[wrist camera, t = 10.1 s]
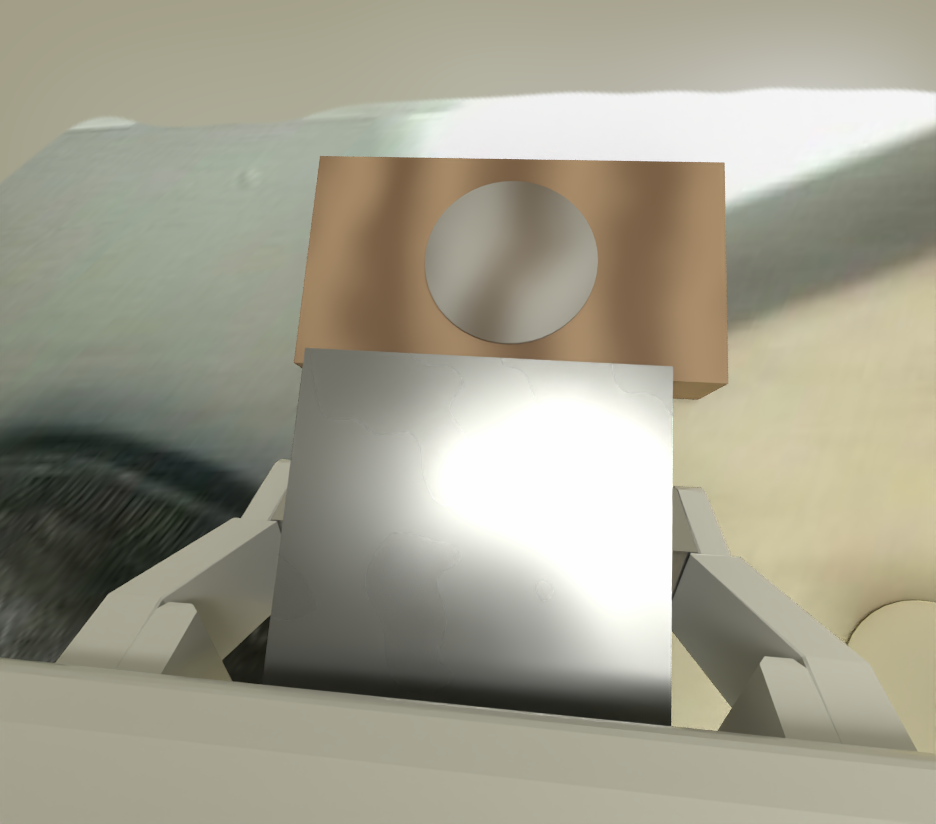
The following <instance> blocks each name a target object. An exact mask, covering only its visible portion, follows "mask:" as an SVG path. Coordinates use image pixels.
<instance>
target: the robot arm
mask: <svg viewBox="0 0 936 824" xmlns="http://www.w3.org/2000/svg"><path fill="white" fill-rule="evenodd" d="M290 461H291V460H287V459H280V460H279V461H277V462H276V463H275V464H274V465H273V467H272V469H271V470H270V472H269V473H268V475H267V477H266V478H265V480H264V482H263V483H262V485H261V486H260V488H259V490H258V491H257V493H256V495H255V496H254V498H253V499H252V501H251V503H250V504H249V506H248V508H247V509H246V511H245V512H244V514H243V516H242V517H241V518H232V519H231V520H229V521H227V522H226V523H224V524H222V525H221V526H219V527H218V528H216V529H214V530H213V531H211V532H209V533H208V534H206V535H204V536H203V537H201V538H199V539H198V540H196V541H195V542H193V543H191V544H190V545H188V546H186V547H185V548H183V549H181V550H180V551H178V552H176V553H175V554H173V555H172V556H170V557H168V558H167V559H165V560H163V561H162V562H160V563H158V564H157V565H155V566H153V567H152V568H150V569H149V570H147V571H145V572H144V573H142V574H140V575H139V576H137V577H135V578H134V579H132V580H130V581H129V582H127V583H126V584H124V585H122V586H121V587H119V588H117V589H116V590H114V591H112V592H111V593H109V594H108V595H107V597H106V598H105V599H104V600H103V602H102V603H101V604H100V606H99V607H98V608H97V609H96V611H95V612H94V613H93V615H92V616H91V617H90V619H89V620H88V621H87V622H86V624H85V625H84V626H83V628H82V629H81V630H80V631H79V633H78V634H77V635H76V637H75V638H74V639H73V641H72V642H71V643H70V644H69V646H68V647H67V648H66V650H65V651H64V652H63V653H62V655H61V656H60V657H59V659H58V660H57V661H56V663H48V662H38V661H28V660H19V659H9V658H0V824H936V753H927V752H918V751H917V749H916V747H915V746H914V744H913V742H912V740H911V738H910V736H909V735H908V733H907V731H906V729H905V727H904V726H903V724H902V722H901V720H900V718H899V716H898V715H897V713H896V711H895V709H894V707H893V706H892V704H891V702H890V700H889V698H888V696H887V695H886V693H885V691H884V689H883V687H882V686H881V684H880V682H879V680H878V678H877V676H876V675H875V673H874V671H873V669H872V667H871V666H870V664H869V663H868V662H867V661H865V660H864V659H863V658H862V657H861V656H859V655H858V654H857V653H856V652H855V651H853V650H852V649H851V648H850V647H848V646H847V645H846V644H845V643H844V642H842V641H841V640H840V639H839V638H838V637H836V636H835V635H834V634H833V633H832V632H830V631H829V630H828V629H827V628H826V627H824V626H823V625H822V624H821V623H820V622H818V621H817V620H816V619H815V618H813V617H812V616H811V615H810V614H809V613H807V612H806V611H805V610H804V609H803V608H801V607H800V606H799V605H798V604H797V603H795V602H794V601H793V600H792V599H791V598H789V597H788V596H787V595H786V594H784V593H783V592H782V591H781V590H780V589H778V588H777V587H776V586H775V585H774V584H772V583H771V582H770V581H769V580H768V579H766V578H765V577H764V576H763V575H762V574H760V573H759V572H758V571H757V570H756V569H754V568H753V567H752V566H751V565H749V564H748V563H747V562H746V561H745V560H743V559H742V558H741V557H734V556H732V555H731V553H730V550H729V548H728V545H727V543H726V540H725V538H724V536H723V533H722V531H721V528H720V526H719V523H718V521H717V518H716V516H715V513H714V511H713V509H712V506H711V504H710V501H709V499H708V496H707V494H706V491H705V490H703V489H702V488H700V487H681V486H674V487H672V632H673V633H674V634H675V636H676V637H677V638H678V639H679V641H680V642H681V643H682V644H683V646H684V647H685V648H686V650H687V651H688V652H689V653H690V655H691V656H692V657H693V659H694V660H695V661H696V662H697V664H698V665H699V666H700V668H701V669H702V670H703V671H704V673H705V674H706V675H707V677H708V678H709V679H710V680H711V682H712V683H713V684H714V685H715V687H716V688H717V689H718V691H719V692H720V693H721V694H722V696H723V697H724V698H725V700H726V701H727V702H728V703H729V705H730V706H731V707H732V709H731V710H730V712H729V713H728V715H727V717H726V718H725V720H724V721H723V723H722V725H721V726H720V728H719V729H718V731H712V730H702V729H692V728H682V727H673V726H663V725H653V724H643V723H634V722H624V721H614V720H604V719H595V718H585V717H575V716H565V715H556V714H546V713H536V712H526V711H516V710H507V709H497V708H487V707H477V706H467V705H458V704H448V703H438V702H428V701H418V700H408V699H398V698H389V697H379V696H369V695H359V694H349V693H339V692H330V691H320V690H310V689H300V688H291V687H281V686H271V685H261V684H252V683H242V682H232V680H231V678H230V676H229V674H228V672H227V670H226V668H225V666H224V664H223V662H222V660H223V659H224V658H225V657H226V656H227V655H228V654H229V653H230V652H231V651H232V650H234V649H235V648H236V647H237V646H238V645H239V644H240V643H241V642H242V641H243V640H244V639H245V638H246V637H247V636H248V635H249V634H251V633H252V632H253V631H254V630H255V629H256V628H257V627H258V626H259V625H260V624H261V623H262V622H263V621H264V620H265V619H267V618H268V617H269V616H270V615H271V609H272V602H273V594H274V586H275V578H276V570H277V563H278V555H279V547H280V539H281V531H282V524H283V516H284V508H285V500H286V493H287V485H288V477H289V469H290Z"/></svg>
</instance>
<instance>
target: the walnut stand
mask: <svg viewBox="0 0 936 824" xmlns="http://www.w3.org/2000/svg"><path fill="white" fill-rule="evenodd" d="M305 348H320V349H339V350H359V351H378V352H398V353H418V354H437V355H457V356H476V357H496V358H516V359H535V360H555V361H575V362H594V363H614V364H633V365H653V366H673V398H680V399H700V398H702V397H704V396H706V395H708V394H709V393H711V392H713V391H715V390H717V389H719V388H721V387H723V386H725V385H727V384H728V342H727V284H726V225H725V166H724V163H713V162H651V161H588V160H526V159H463V158H401V157H338V156H320V161H319V169H318V177H317V185H316V193H315V200H314V208H313V216H312V224H311V232H310V240H309V248H308V256H307V264H306V272H305V280H304V287H303V295H302V303H301V311H300V319H299V327H298V335H297V343H296V351H295V359H294V363H295V364H297V365H298V366H300V367H301V368H303V360H304V352H305Z"/></svg>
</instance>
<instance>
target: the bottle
mask: <svg viewBox="0 0 936 824" xmlns="http://www.w3.org/2000/svg"><path fill="white" fill-rule="evenodd" d="M848 647H850V648H851V649H852V650H853V651H855V652H856V653H857V654H858V655H859V656H861V657H862V658H863V659H864V660H865V661H867V662H868V663H869V664H870V666H871V667H872V669H873V671H874V673H875V675H876V676H877V678H878V680H879V682H880V684H881V686H882V687H883V689H884V691H885V693H886V695H887V696H888V698H889V700H890V702H891V704H892V706H893V707H894V709H895V711H896V713H897V715H898V716H899V718H900V720H901V722H902V724H903V726H904V727H905V729H906V731H907V733H908V735H909V736H910V738H911V740H912V742H913V744H914V746H915V747H916V749H917V751H918V752H927V753H936V602H929V601H921V600H912V601H900V602H897V603H893V604H889V605H886V606H884V607H882V608H880V609H878V610H876V611H875V612H873V613H871V614H870V615H869V616H868V617H867V618H866V619H865V620H863V621H862V622H861V623H860V625H859V626H858V628H857V629H856V630H855V632H854V633H853V634H852V636H851V639H850V641H849V643H848Z"/></svg>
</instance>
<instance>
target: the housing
mask: <svg viewBox="0 0 936 824" xmlns="http://www.w3.org/2000/svg"><path fill="white" fill-rule="evenodd" d="M672 466H673V366H653V365H633V364H614V363H594V362H575V361H555V360H535V359H516V358H496V357H476V356H457V355H437V354H418V353H398V352H378V351H359V350H339V349H320V348H305V352H304V360H303V368H302V376H301V383H300V391H299V399H298V407H297V415H296V422H295V430H294V438H293V446H292V454H291V461H290V469H289V477H288V485H287V493H286V500H285V508H284V516H283V524H282V531H281V539H280V547H279V555H278V563H277V570H276V578H275V586H274V594H273V602H272V609H271V617H270V625H269V633H268V641H267V648H266V656H265V664H264V672H263V679H262V685H271V686H281V687H291V688H300V689H310V690H320V691H330V692H339V693H349V694H359V695H369V696H379V697H389V698H398V699H408V700H418V701H428V702H438V703H448V704H458V705H467V706H477V707H487V708H497V709H507V710H516V711H526V712H536V713H546V714H556V715H565V716H575V717H585V718H595V719H604V720H614V721H624V722H634V723H643V724H653V725H663V726H671V649H672Z"/></svg>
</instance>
